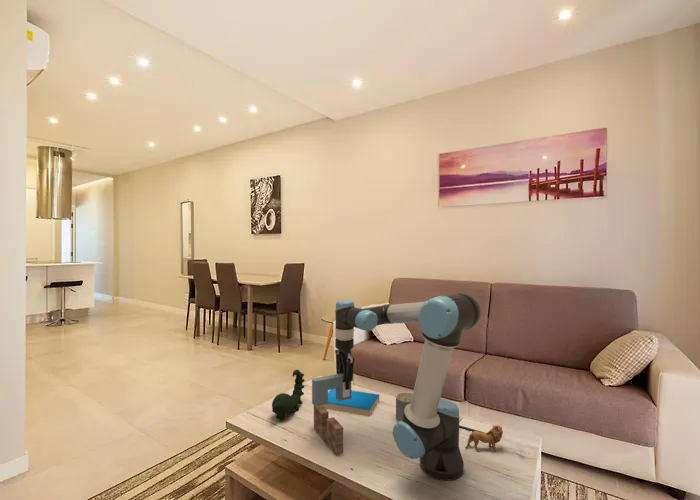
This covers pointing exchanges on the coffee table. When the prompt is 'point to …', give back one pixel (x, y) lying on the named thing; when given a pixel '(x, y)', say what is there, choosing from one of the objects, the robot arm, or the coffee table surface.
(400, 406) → the coffee mug
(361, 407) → the book
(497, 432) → the lion figurine
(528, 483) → the coffee table surface
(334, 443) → the walnut board
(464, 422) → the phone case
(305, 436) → the coffee table surface
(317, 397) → the slate plate
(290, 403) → the toy figurine
